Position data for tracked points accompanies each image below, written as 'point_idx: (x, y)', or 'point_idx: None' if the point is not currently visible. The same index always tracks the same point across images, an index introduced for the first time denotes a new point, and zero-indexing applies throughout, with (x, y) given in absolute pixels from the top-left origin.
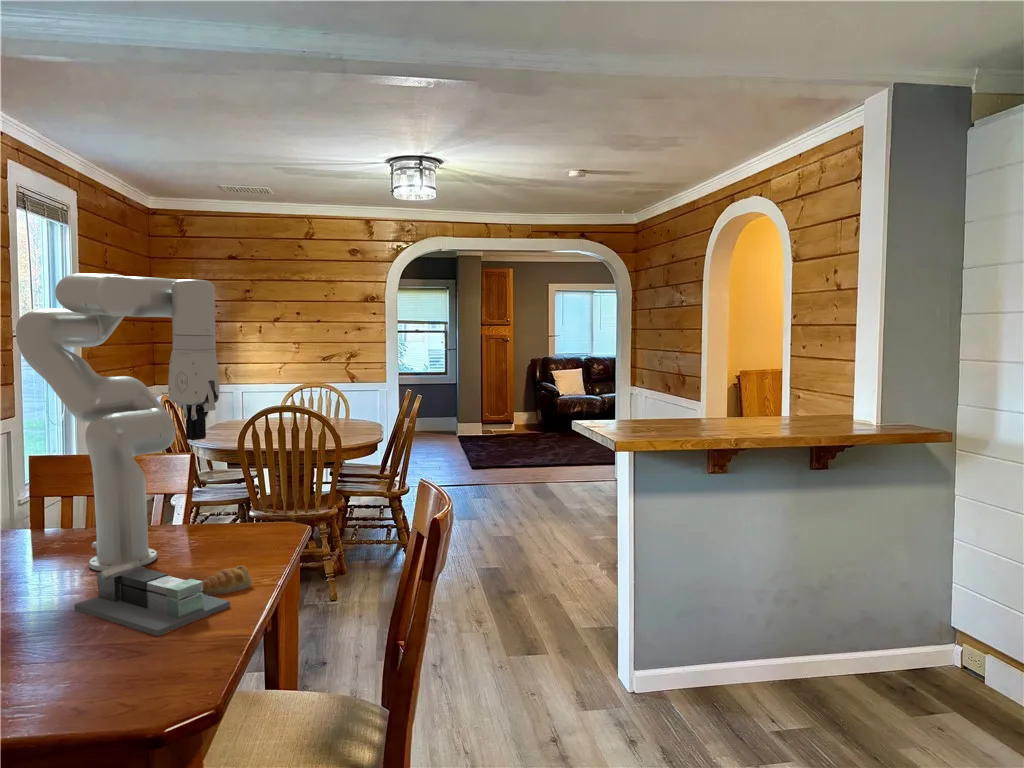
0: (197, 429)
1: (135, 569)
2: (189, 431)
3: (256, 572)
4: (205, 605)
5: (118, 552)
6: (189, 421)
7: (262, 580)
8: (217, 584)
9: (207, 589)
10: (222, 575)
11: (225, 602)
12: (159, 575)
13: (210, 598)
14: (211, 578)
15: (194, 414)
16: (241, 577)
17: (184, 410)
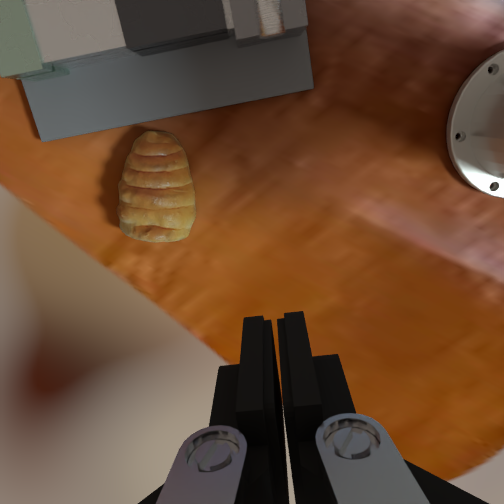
0: (215, 393)
1: (241, 12)
2: (261, 344)
3: (201, 278)
4: (53, 95)
5: (501, 90)
6: (254, 397)
7: (146, 261)
8: (128, 163)
9: (134, 141)
10: (137, 183)
11: (40, 132)
12: (131, 27)
13: (86, 123)
14: (155, 165)
15: (182, 477)
16: (117, 213)
17: (387, 486)
